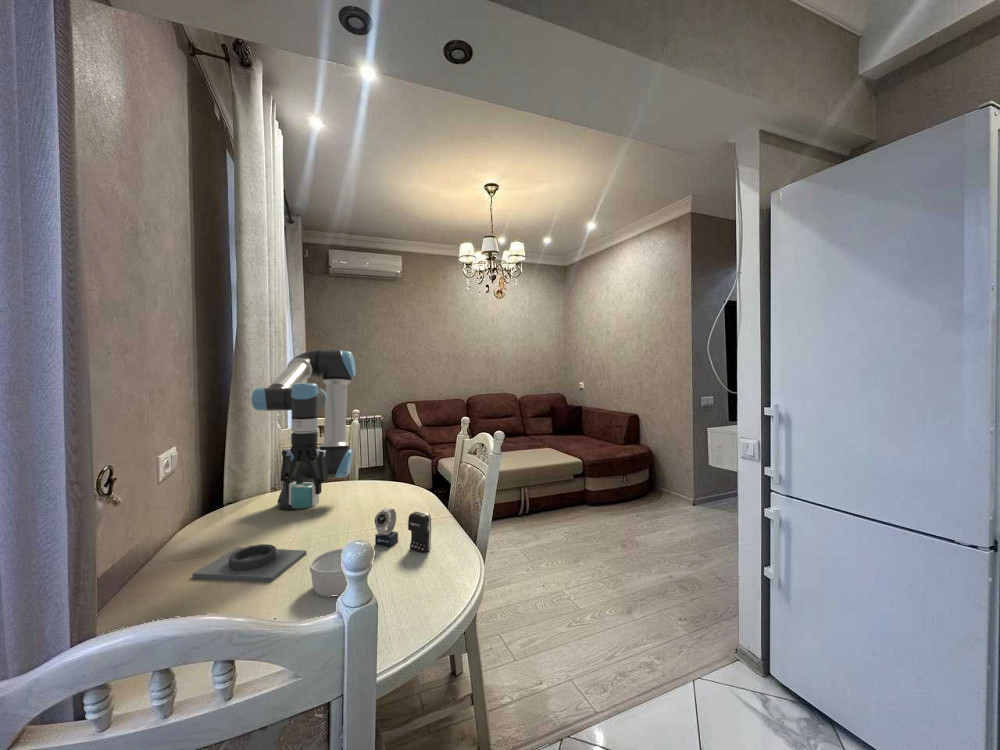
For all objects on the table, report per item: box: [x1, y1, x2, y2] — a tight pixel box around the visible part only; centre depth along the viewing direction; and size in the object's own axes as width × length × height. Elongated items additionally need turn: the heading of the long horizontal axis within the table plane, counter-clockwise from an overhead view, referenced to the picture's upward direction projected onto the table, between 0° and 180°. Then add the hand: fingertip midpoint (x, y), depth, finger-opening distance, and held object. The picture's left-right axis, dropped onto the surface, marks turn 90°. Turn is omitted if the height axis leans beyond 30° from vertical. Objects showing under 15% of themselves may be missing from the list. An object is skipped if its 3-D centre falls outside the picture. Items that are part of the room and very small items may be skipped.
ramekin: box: [309, 548, 347, 597], centre depth 102 cm, size 13×13×7 cm
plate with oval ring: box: [191, 543, 307, 583], centre depth 112 cm, size 16×22×4 cm
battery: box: [407, 510, 432, 554], centre depth 123 cm, size 7×4×11 cm, turn 60°
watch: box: [374, 507, 399, 548], centre depth 127 cm, size 6×8×11 cm
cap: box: [292, 482, 314, 510], centre depth 126 cm, size 7×7×7 cm
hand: (304, 503), depth 126 cm, fingers closed on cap, 7 cm apart
